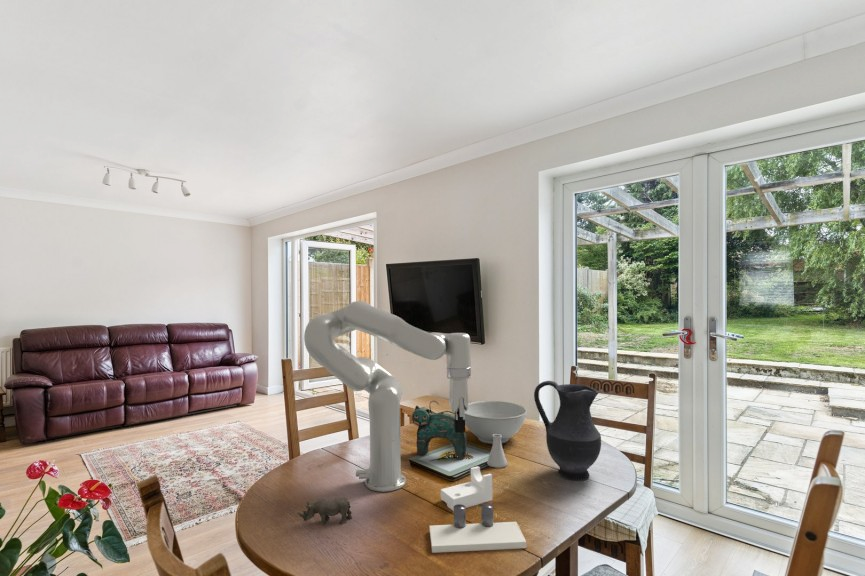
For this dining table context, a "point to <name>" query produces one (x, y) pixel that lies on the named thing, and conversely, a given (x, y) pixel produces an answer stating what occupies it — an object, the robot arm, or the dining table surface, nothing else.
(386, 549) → the dining table surface
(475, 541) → the board
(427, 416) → the cat figurine
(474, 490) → the bracket
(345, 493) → the dining table surface
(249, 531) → the dining table surface
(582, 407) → the pitcher
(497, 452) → the flask
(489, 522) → the peg
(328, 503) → the rhino figurine
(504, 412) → the decorative bowl
